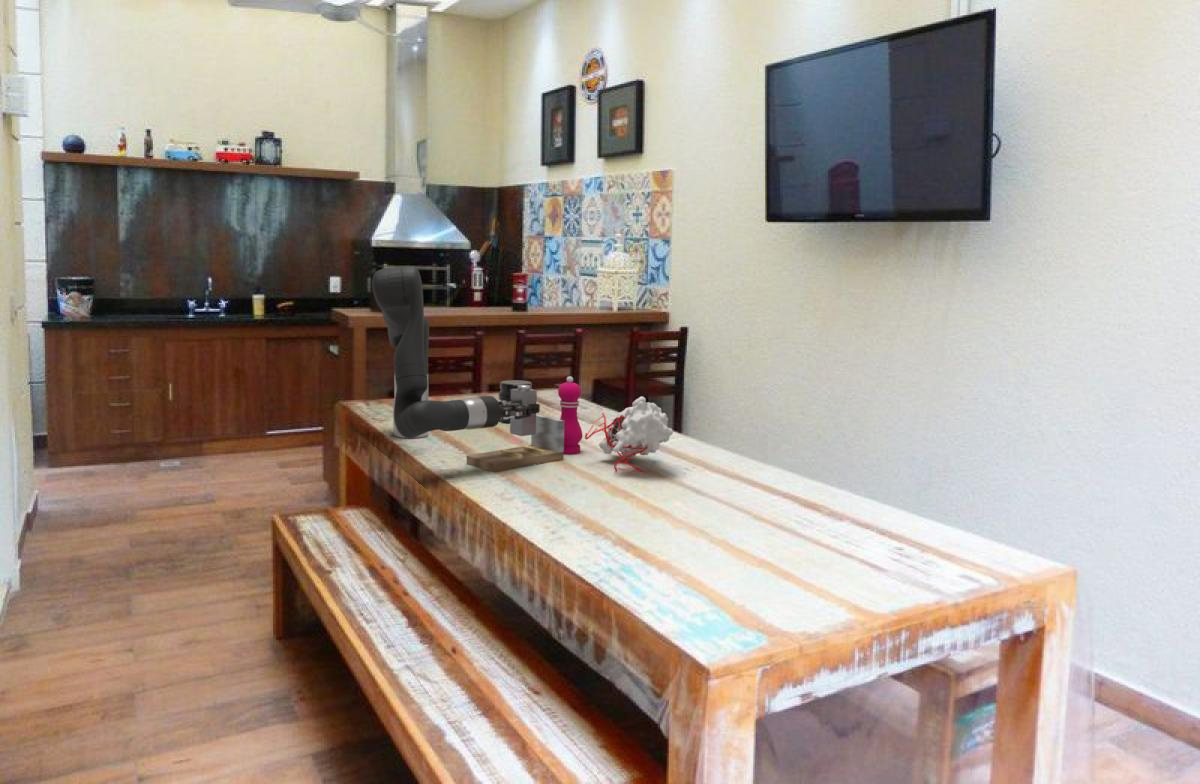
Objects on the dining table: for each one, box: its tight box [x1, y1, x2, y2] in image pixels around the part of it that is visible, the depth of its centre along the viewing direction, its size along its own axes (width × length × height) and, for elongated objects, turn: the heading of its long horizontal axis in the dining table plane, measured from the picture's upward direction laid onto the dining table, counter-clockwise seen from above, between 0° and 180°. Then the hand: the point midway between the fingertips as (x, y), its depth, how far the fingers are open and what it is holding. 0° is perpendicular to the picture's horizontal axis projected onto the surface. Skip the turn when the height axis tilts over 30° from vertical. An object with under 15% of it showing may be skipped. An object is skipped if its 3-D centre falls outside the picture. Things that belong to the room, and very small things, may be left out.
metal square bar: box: [509, 385, 538, 437], centre depth 230 cm, size 4×4×12 cm
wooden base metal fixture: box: [466, 413, 565, 473], centre depth 232 cm, size 11×22×10 cm, turn 134°
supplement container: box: [498, 379, 533, 424], centre depth 286 cm, size 10×10×12 cm
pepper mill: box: [557, 376, 583, 455], centre depth 244 cm, size 7×7×20 cm
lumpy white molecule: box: [584, 396, 674, 473], centre depth 229 cm, size 20×18×25 cm
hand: (531, 406), depth 232 cm, fingers closed on metal square bar, 4 cm apart
